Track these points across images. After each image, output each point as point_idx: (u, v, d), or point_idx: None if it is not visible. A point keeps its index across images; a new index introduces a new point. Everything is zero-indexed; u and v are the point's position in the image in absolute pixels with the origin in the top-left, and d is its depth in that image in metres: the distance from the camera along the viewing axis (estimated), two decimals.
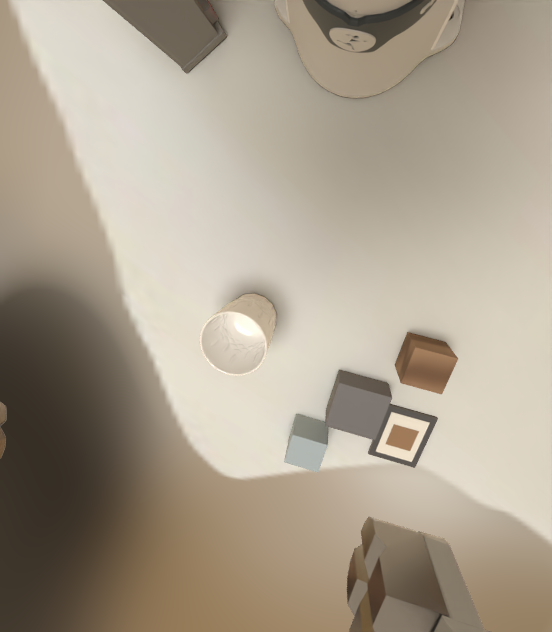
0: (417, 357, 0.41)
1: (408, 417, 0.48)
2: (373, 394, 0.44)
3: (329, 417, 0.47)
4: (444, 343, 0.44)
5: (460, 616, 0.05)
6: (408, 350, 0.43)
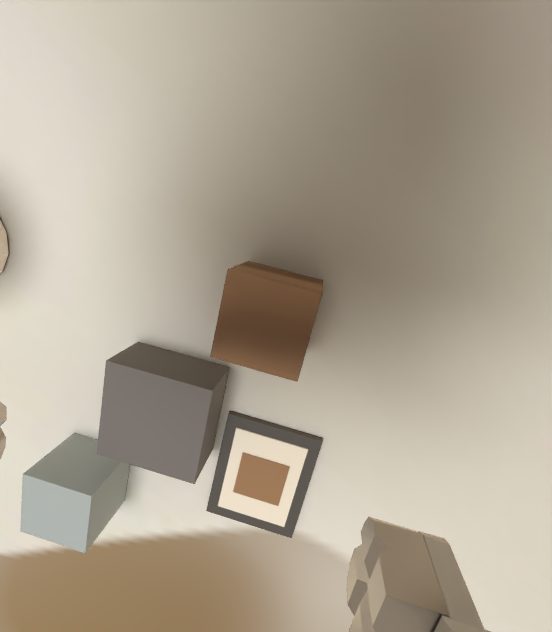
0: (235, 294, 0.18)
1: (268, 439, 0.25)
2: (175, 384, 0.21)
3: (101, 436, 0.23)
4: (317, 280, 0.21)
5: (460, 616, 0.05)
6: None
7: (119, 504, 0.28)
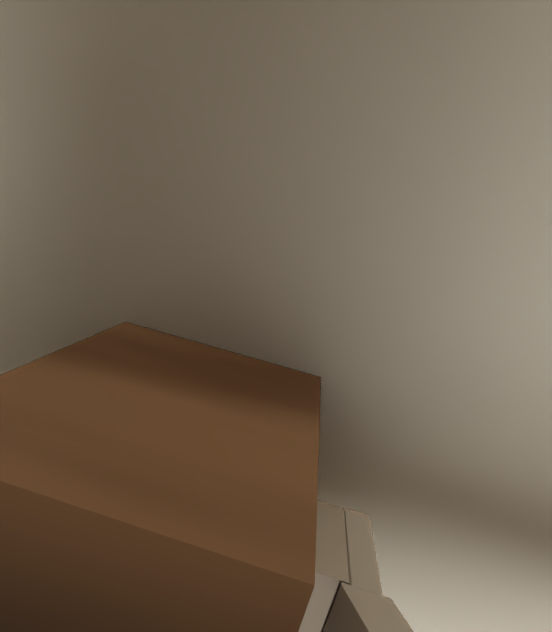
0: None
1: None
2: None
3: None
4: (304, 386, 0.07)
5: (360, 583, 0.05)
6: None
7: None
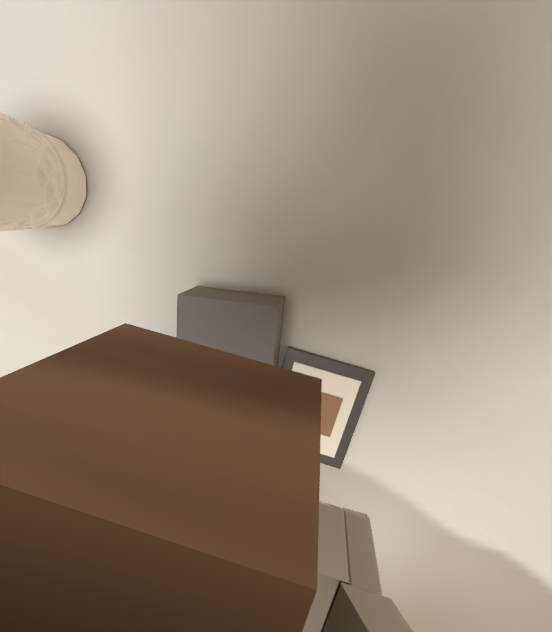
0: None
1: (323, 372, 0.27)
2: (243, 307, 0.23)
3: None
4: (305, 388, 0.07)
5: (360, 583, 0.05)
6: None
7: None
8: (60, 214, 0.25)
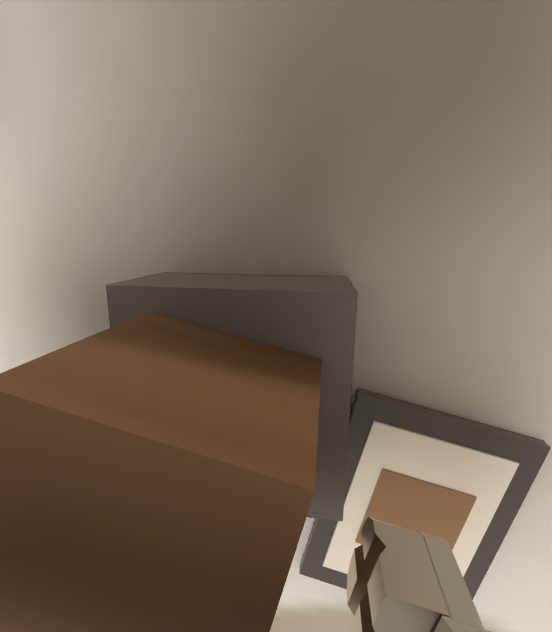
0: (12, 466, 0.05)
1: (436, 443, 0.13)
2: (267, 301, 0.09)
3: None
4: (307, 365, 0.09)
5: (460, 616, 0.05)
6: None
7: None
8: None
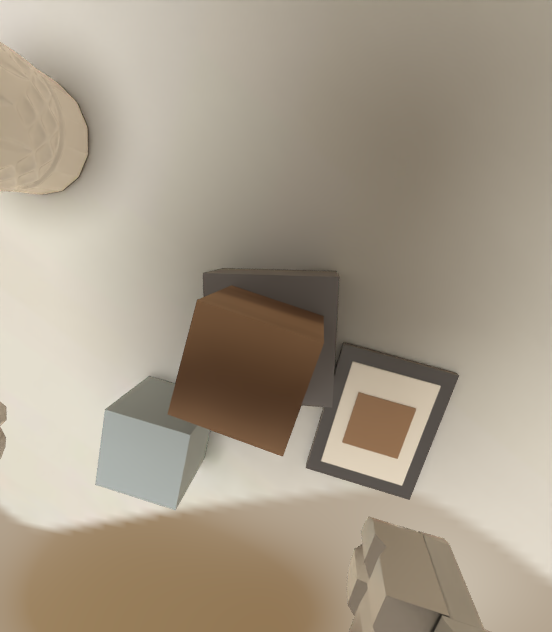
0: (205, 334, 0.13)
1: (391, 375, 0.21)
2: (291, 281, 0.17)
3: None
4: (316, 316, 0.17)
5: (460, 616, 0.05)
6: None
7: (201, 461, 0.23)
8: (54, 172, 0.19)
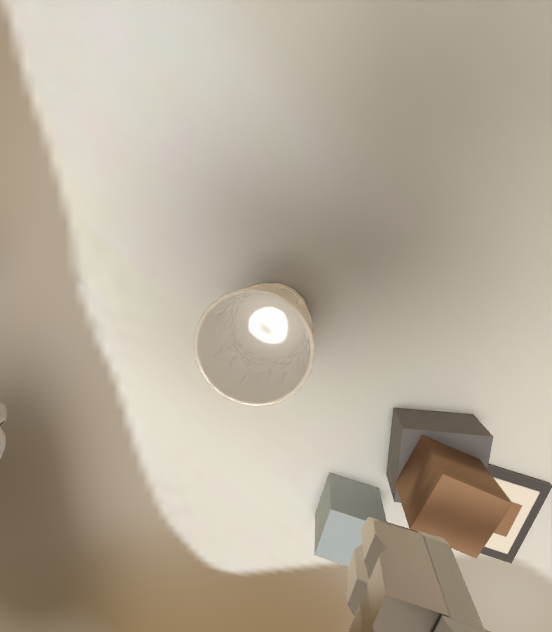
0: (443, 491, 0.24)
1: (506, 483, 0.31)
2: (461, 436, 0.28)
3: None
4: (479, 462, 0.27)
5: (460, 616, 0.05)
6: (425, 471, 0.25)
7: None
8: None
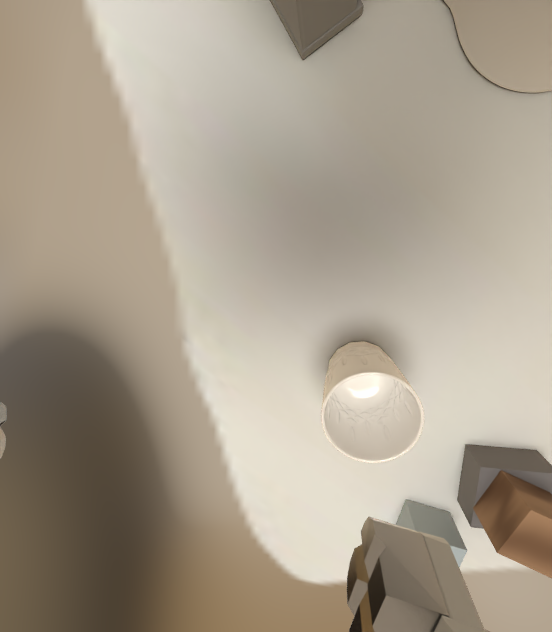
0: (530, 523, 0.28)
1: None
2: (532, 474, 0.33)
3: (475, 515, 0.34)
4: (551, 496, 0.32)
5: (460, 616, 0.05)
6: (510, 504, 0.30)
7: None
8: None
